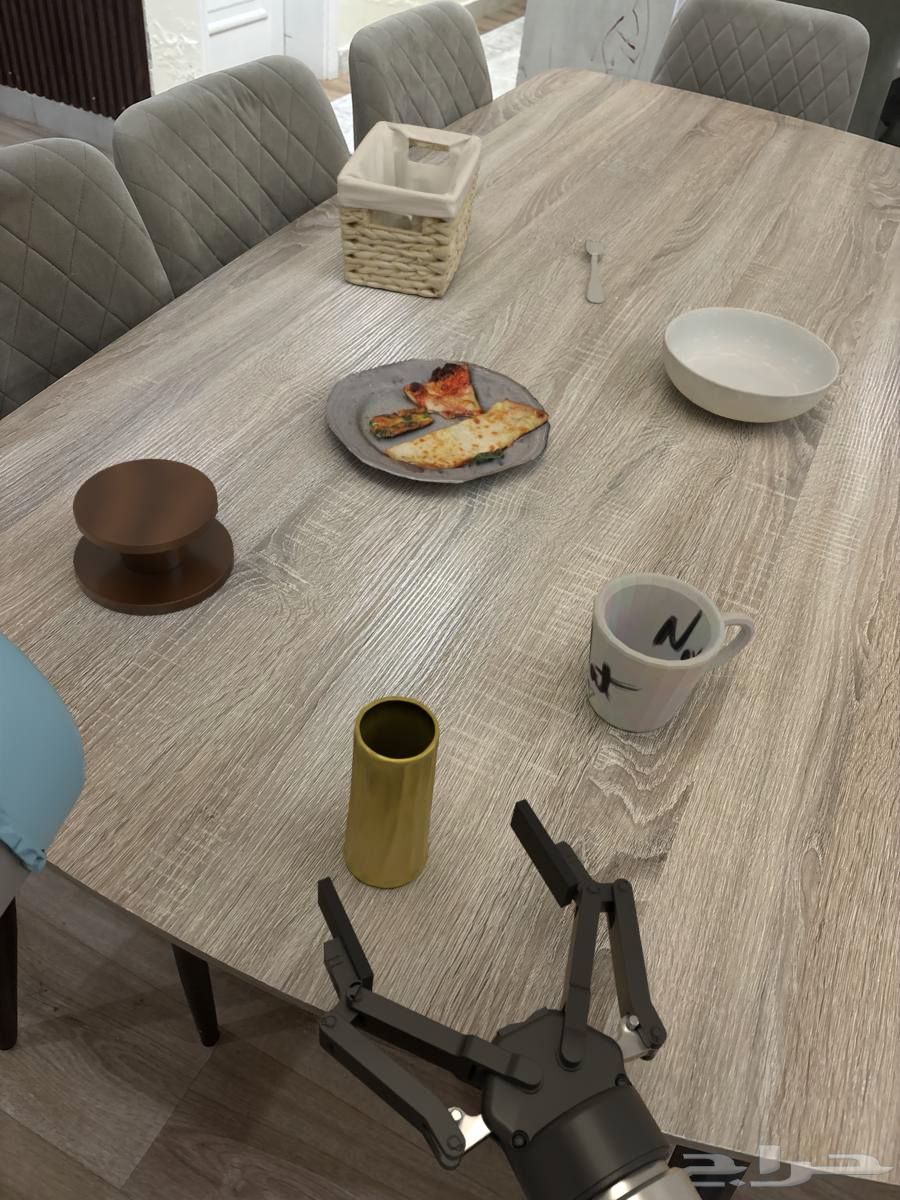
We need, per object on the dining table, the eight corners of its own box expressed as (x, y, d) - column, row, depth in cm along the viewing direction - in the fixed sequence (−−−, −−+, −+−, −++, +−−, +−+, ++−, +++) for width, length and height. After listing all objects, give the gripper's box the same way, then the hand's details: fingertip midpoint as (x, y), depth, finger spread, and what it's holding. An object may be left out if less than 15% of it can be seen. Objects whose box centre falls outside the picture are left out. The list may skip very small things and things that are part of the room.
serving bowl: (679, 337, 127) (693, 289, 122) (833, 387, 121) (854, 339, 116) (627, 406, 113) (640, 355, 108) (797, 467, 107) (820, 416, 103)
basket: (447, 307, 127) (457, 196, 116) (330, 286, 128) (331, 175, 117) (475, 237, 144) (487, 135, 134) (372, 219, 145) (376, 116, 135)
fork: (581, 316, 134) (585, 299, 131) (582, 240, 147) (586, 223, 145) (601, 319, 134) (605, 302, 131) (600, 242, 147) (604, 226, 145)
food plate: (469, 357, 118) (472, 331, 115) (588, 455, 105) (594, 429, 103) (290, 405, 106) (289, 377, 104) (399, 522, 94) (401, 494, 91)
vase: (338, 819, 69) (341, 694, 59) (420, 808, 70) (436, 684, 60) (349, 895, 65) (354, 774, 55) (436, 882, 66) (456, 762, 56)
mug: (551, 661, 82) (573, 578, 75) (702, 638, 86) (736, 557, 79) (597, 757, 75) (625, 675, 68) (759, 727, 79) (802, 647, 72)
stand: (78, 626, 80) (61, 563, 75) (73, 522, 89) (58, 460, 84) (244, 602, 84) (239, 541, 79) (223, 505, 93) (217, 445, 88)
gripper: (378, 1355, 44) (235, 955, 57) (777, 1107, 54) (578, 813, 67) (386, 1327, 39) (227, 894, 52) (827, 1058, 48) (600, 750, 61)
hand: (424, 848), depth 59 cm, fingers open, 13 cm apart
